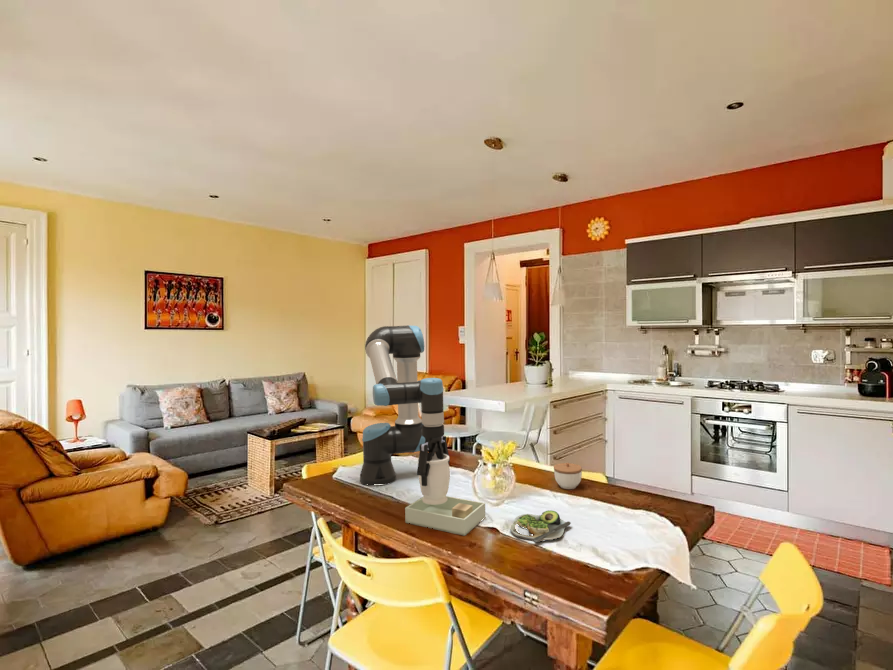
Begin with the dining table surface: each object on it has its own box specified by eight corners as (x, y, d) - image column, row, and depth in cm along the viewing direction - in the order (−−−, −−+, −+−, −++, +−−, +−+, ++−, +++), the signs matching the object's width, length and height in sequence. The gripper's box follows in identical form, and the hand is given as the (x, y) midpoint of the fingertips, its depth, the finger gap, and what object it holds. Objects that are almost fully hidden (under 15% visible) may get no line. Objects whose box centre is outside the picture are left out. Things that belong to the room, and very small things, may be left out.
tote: (429, 506, 176) (428, 492, 176) (485, 517, 165) (485, 503, 165) (405, 522, 163) (405, 507, 163) (464, 535, 152) (464, 519, 152)
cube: (472, 520, 162) (472, 505, 162) (465, 526, 158) (465, 510, 158) (459, 517, 165) (459, 503, 164) (452, 523, 160) (451, 508, 160)
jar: (451, 495, 170) (450, 452, 170) (449, 506, 160) (447, 461, 160) (421, 495, 172) (420, 452, 171) (417, 506, 161) (415, 461, 161)
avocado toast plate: (563, 551, 141) (562, 535, 141) (503, 542, 148) (502, 527, 148) (572, 524, 159) (572, 510, 159) (518, 517, 166) (518, 503, 166)
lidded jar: (585, 484, 195) (585, 461, 194) (577, 493, 186) (576, 468, 185) (559, 480, 201) (559, 457, 200) (550, 488, 192) (549, 464, 191)
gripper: (440, 417, 177) (441, 478, 178) (404, 430, 157) (406, 499, 158) (458, 418, 173) (460, 480, 174) (424, 432, 153) (426, 502, 154)
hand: (434, 489), depth 166 cm, fingers closed on jar, 10 cm apart
